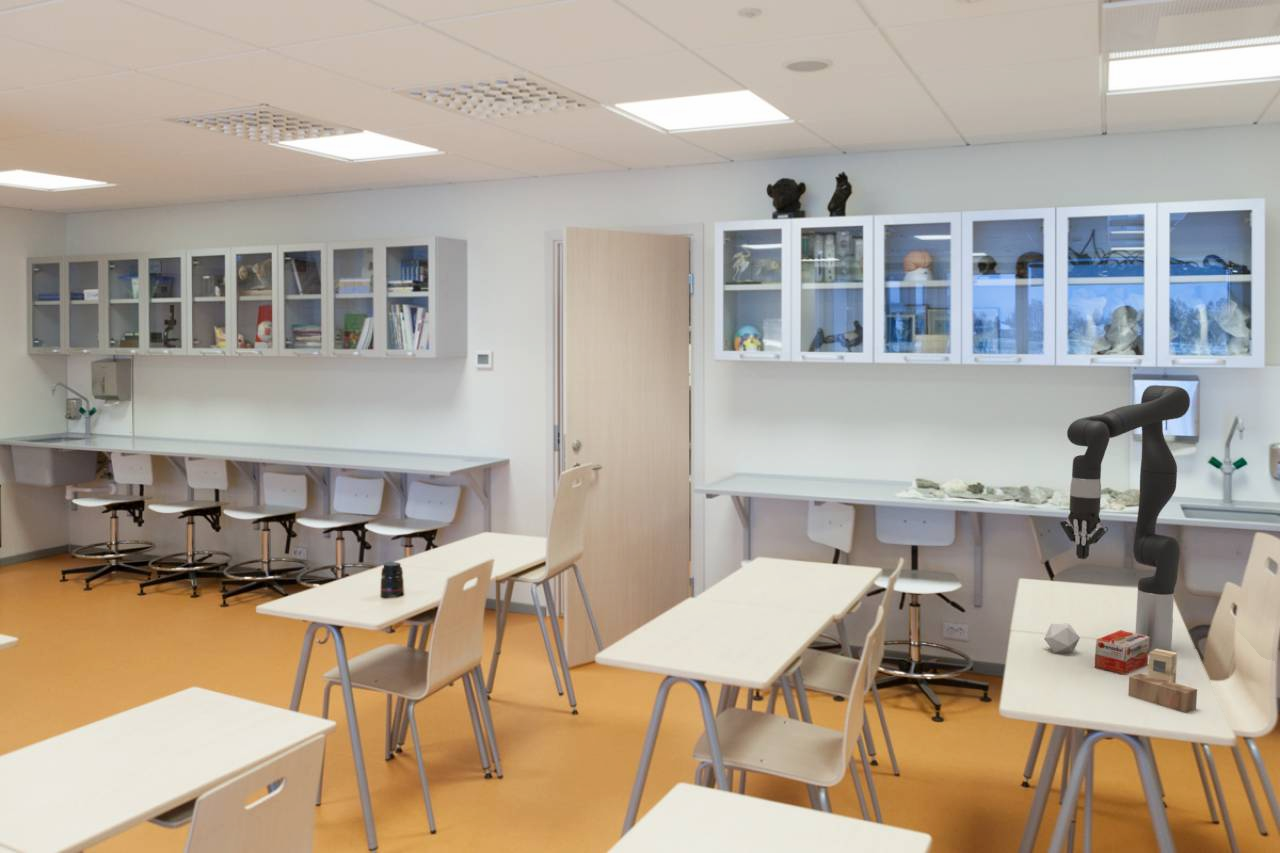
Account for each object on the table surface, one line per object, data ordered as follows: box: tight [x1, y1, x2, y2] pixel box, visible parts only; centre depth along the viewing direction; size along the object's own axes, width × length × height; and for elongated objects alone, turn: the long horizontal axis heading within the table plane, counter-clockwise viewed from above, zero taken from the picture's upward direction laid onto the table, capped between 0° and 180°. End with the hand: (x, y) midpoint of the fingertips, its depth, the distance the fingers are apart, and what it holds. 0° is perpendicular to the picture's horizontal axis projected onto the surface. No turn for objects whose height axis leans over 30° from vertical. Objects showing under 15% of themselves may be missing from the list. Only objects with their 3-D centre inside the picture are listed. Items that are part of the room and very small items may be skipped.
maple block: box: [1147, 649, 1178, 683], centre depth 259 cm, size 5×5×9 cm
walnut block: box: [1128, 672, 1198, 714], centre depth 248 cm, size 5×5×14 cm
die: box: [1043, 622, 1081, 654], centre depth 289 cm, size 8×9×10 cm
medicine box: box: [1094, 629, 1150, 676], centre depth 276 cm, size 15×8×8 cm, turn 131°
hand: (1082, 558), depth 276 cm, fingers closed
